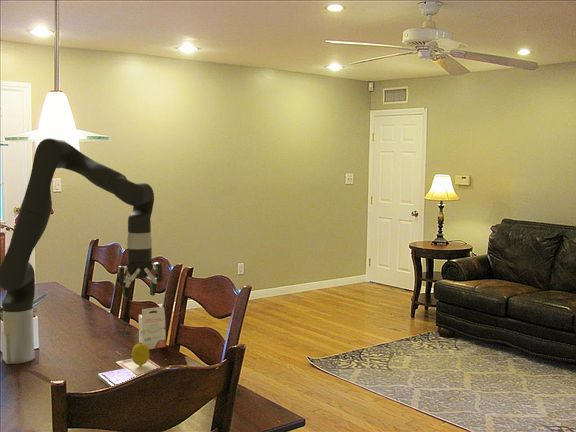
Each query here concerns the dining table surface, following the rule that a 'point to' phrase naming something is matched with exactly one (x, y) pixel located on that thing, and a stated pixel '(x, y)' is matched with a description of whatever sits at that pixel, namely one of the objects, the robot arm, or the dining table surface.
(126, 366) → the marked sheet
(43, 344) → the dining table surface
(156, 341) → the ink cartridge box
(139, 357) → the lemon
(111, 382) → the ink pad
